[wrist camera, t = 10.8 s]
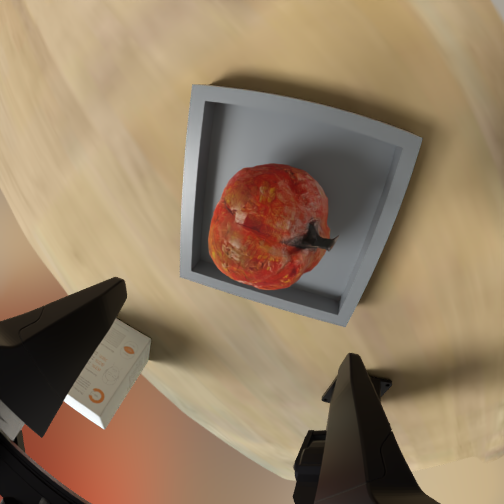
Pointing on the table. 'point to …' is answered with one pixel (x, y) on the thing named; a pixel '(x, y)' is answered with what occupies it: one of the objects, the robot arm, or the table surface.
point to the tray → (316, 165)
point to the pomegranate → (270, 226)
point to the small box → (110, 373)
